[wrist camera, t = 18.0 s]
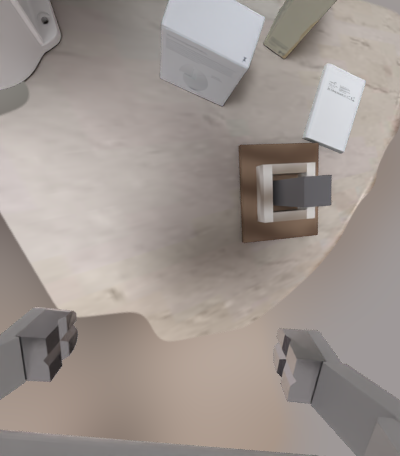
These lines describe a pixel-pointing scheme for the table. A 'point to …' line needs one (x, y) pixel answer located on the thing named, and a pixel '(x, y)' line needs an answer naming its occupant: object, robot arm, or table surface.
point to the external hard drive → (334, 108)
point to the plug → (303, 191)
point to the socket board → (263, 190)
